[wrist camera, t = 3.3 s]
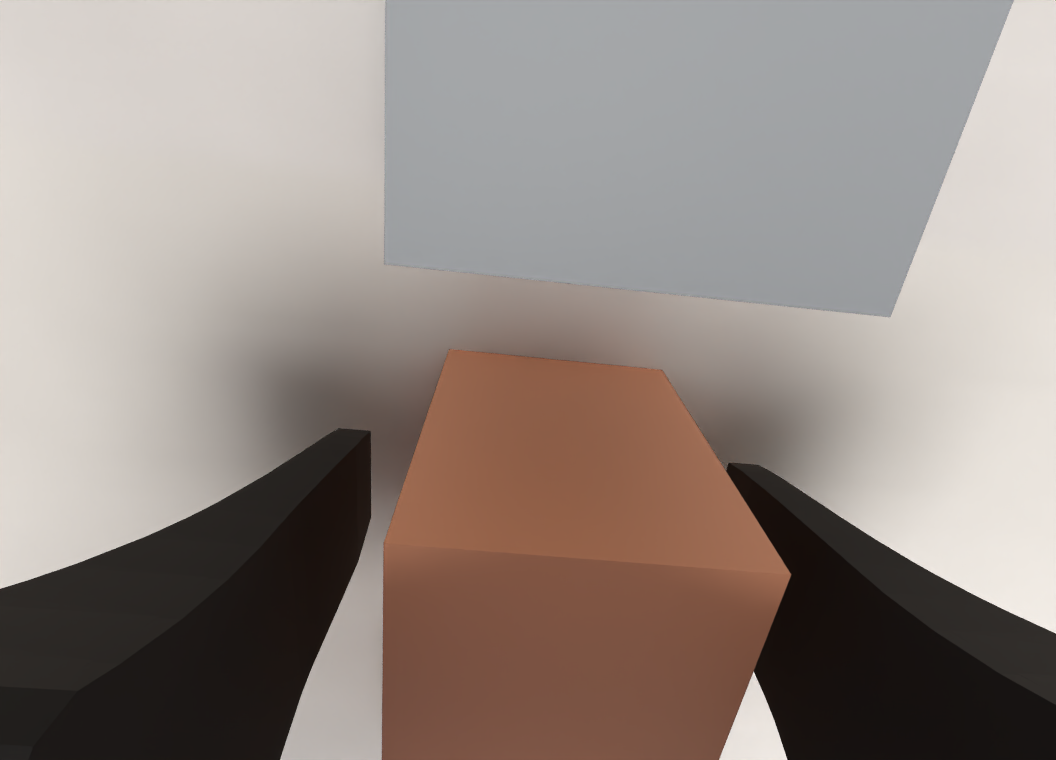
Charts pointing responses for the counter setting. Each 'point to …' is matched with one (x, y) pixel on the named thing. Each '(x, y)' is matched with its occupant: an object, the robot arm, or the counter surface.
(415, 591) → the terracotta block
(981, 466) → the counter surface
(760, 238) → the slate block
